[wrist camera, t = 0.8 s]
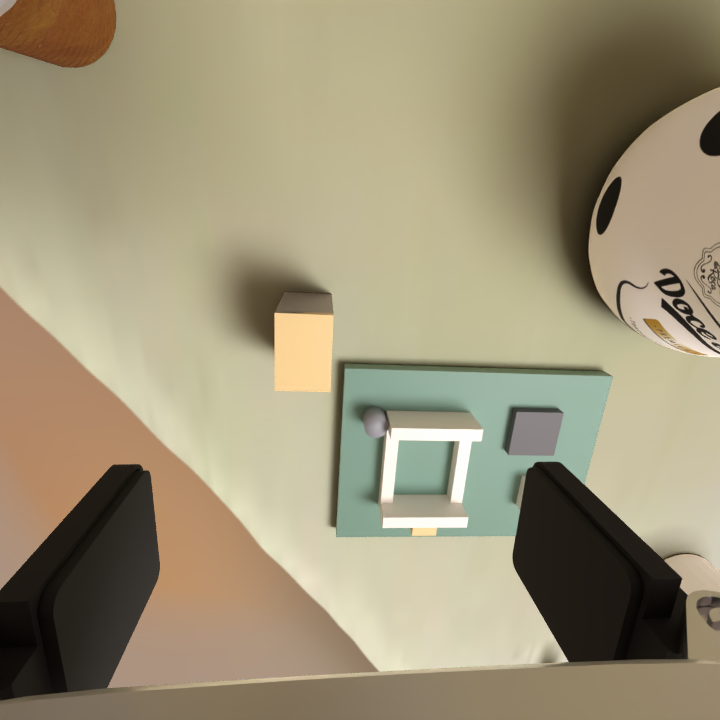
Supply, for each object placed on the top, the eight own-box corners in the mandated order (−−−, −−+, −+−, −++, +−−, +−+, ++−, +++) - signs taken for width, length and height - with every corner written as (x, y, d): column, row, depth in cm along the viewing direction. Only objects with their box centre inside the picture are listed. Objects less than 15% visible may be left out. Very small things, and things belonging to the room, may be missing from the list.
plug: (284, 291, 32) (274, 312, 26) (331, 294, 33) (333, 315, 26) (284, 361, 34) (274, 397, 27) (328, 362, 34) (329, 399, 28)
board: (344, 363, 35) (346, 383, 31) (603, 371, 37) (637, 390, 33) (336, 527, 40) (337, 562, 36) (564, 526, 42) (589, 559, 38)
